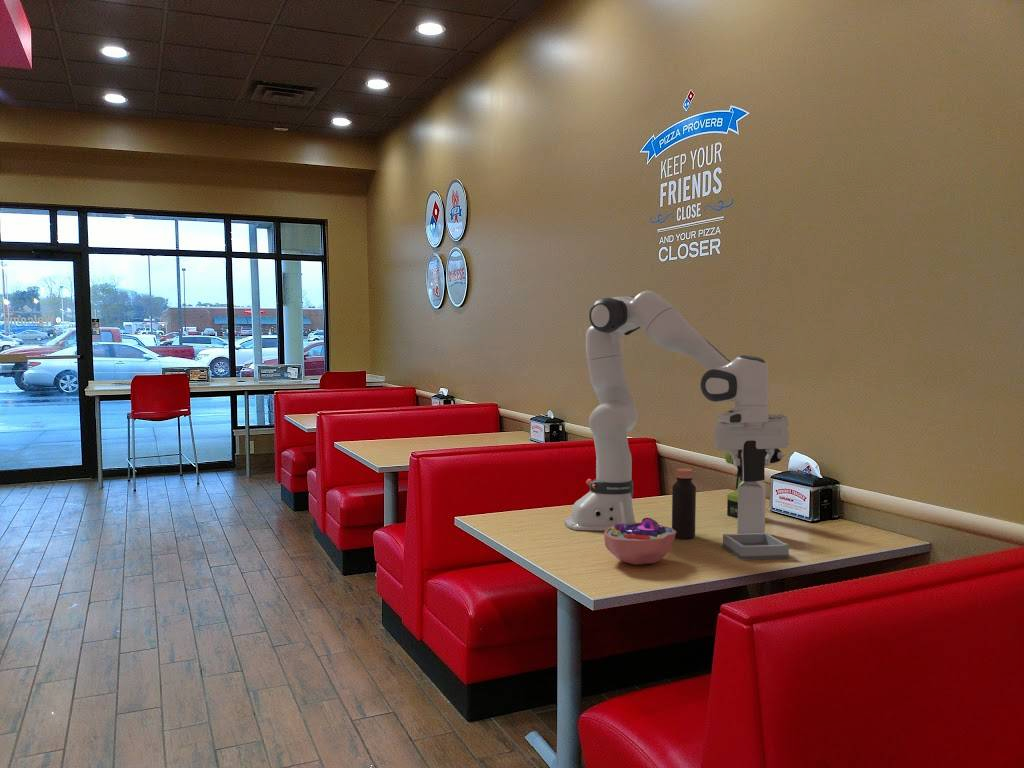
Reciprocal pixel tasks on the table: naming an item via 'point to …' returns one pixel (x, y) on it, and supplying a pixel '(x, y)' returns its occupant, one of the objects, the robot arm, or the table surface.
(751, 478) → the battery charger
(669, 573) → the table surface
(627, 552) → the cell model
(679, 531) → the bottle
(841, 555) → the table surface
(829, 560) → the table surface
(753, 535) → the tray
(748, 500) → the milk carton
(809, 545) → the table surface
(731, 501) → the cordless drill
